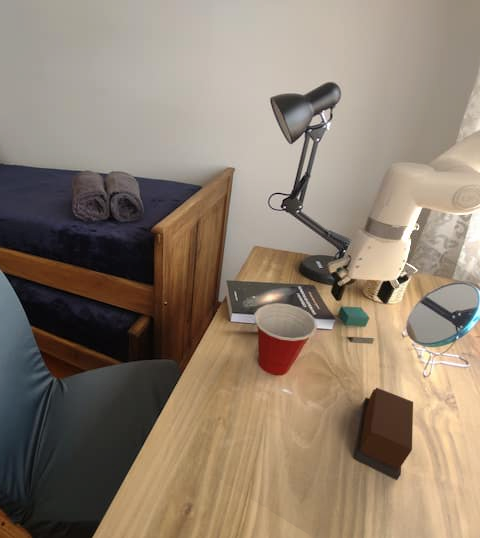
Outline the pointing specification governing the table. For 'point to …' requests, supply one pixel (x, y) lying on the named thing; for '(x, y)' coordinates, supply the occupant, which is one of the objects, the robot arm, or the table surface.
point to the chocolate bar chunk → (385, 432)
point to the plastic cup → (281, 335)
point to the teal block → (355, 321)
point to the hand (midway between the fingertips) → (358, 298)
